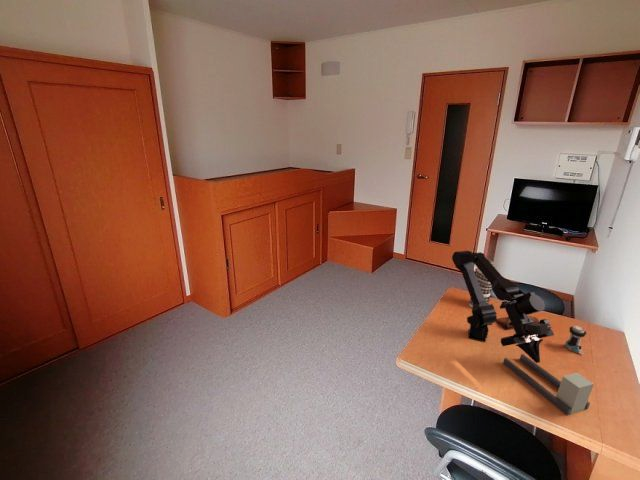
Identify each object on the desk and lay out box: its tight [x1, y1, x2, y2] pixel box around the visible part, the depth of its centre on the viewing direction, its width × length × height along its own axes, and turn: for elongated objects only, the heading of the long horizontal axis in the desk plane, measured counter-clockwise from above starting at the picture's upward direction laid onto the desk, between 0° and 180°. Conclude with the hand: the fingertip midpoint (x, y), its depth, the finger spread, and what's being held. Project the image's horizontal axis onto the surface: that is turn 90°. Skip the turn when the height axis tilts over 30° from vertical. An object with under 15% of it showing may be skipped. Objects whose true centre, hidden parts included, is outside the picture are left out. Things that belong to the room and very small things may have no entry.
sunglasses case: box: [494, 315, 540, 330], centre depth 147 cm, size 18×7×7 cm
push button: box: [564, 325, 587, 355], centre depth 128 cm, size 7×5×10 cm
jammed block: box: [555, 372, 594, 415], centre depth 100 cm, size 5×6×10 cm
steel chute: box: [502, 353, 591, 417], centre depth 110 cm, size 24×10×4 cm, turn 18°
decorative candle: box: [468, 258, 498, 309], centre depth 157 cm, size 9×9×25 cm
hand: (538, 362), depth 111 cm, fingers closed
